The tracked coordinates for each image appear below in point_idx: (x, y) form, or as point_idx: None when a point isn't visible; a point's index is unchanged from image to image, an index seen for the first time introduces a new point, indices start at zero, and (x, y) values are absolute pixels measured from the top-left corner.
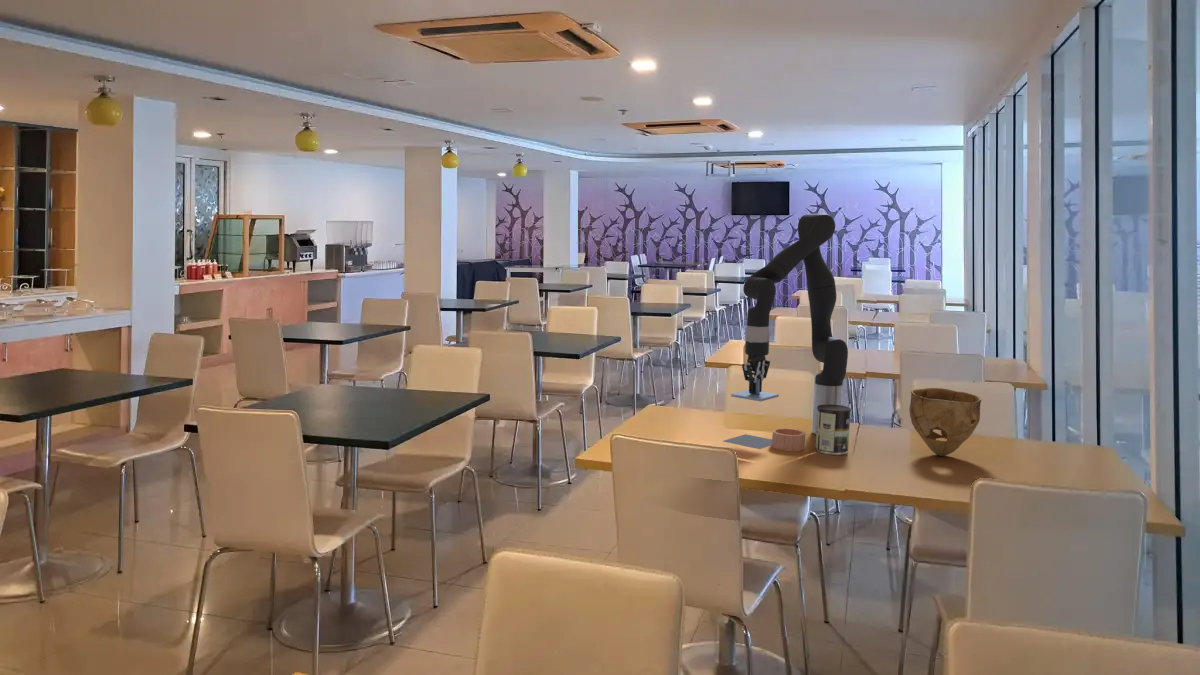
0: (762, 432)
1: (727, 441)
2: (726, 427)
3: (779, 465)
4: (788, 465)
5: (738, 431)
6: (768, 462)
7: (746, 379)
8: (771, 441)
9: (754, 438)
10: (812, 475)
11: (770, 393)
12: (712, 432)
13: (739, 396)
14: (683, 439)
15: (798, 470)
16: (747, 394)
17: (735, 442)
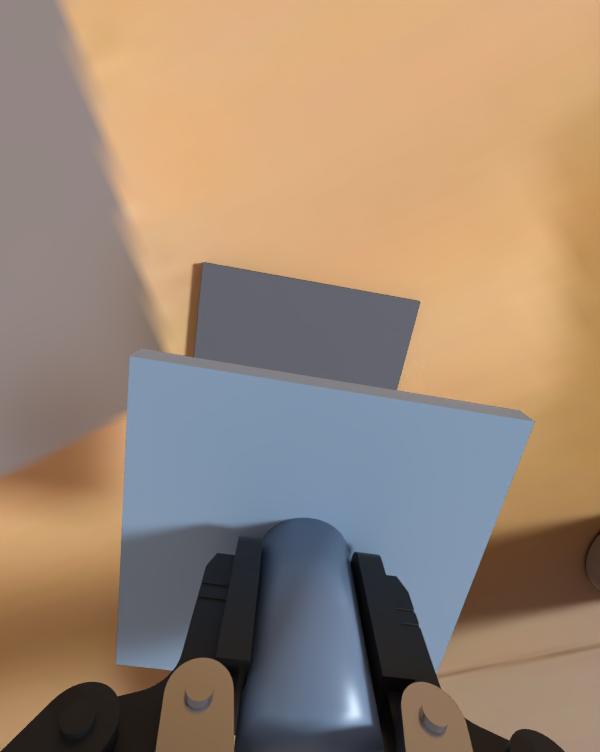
0: (538, 339)
1: (211, 289)
2: (570, 119)
3: (41, 579)
4: (66, 599)
5: (501, 226)
6: (47, 540)
7: (54, 726)
8: None
9: (356, 372)
10: (16, 680)
11: (430, 641)
12: (399, 103)
13: (128, 458)
14: (123, 25)
15: (34, 638)
16: (238, 506)
17: (219, 331)
